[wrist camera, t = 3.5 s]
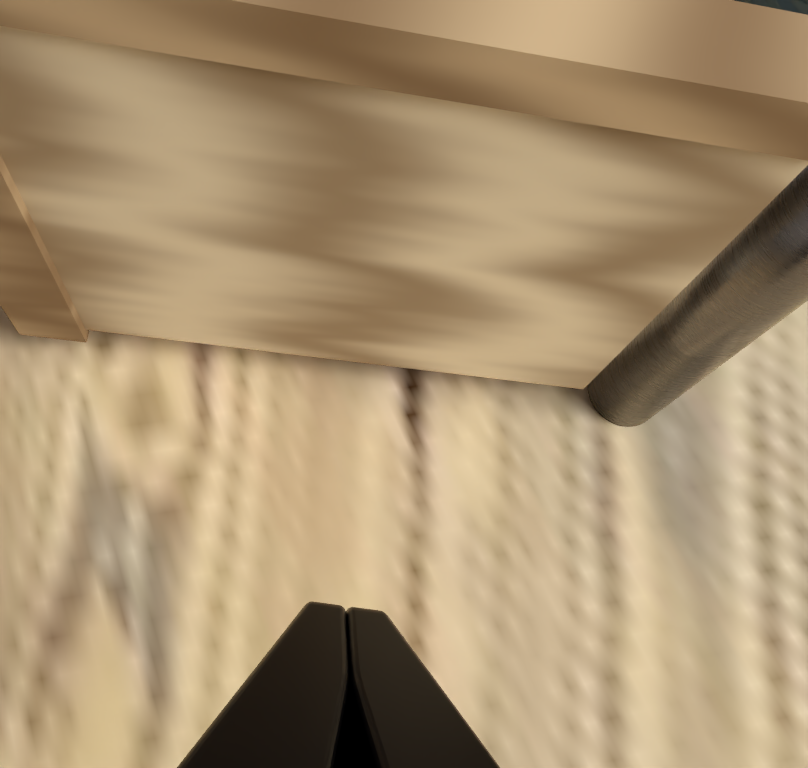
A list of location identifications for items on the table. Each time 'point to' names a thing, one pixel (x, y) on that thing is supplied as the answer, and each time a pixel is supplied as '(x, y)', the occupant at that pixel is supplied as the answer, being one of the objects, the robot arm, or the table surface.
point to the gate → (387, 171)
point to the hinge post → (713, 313)
